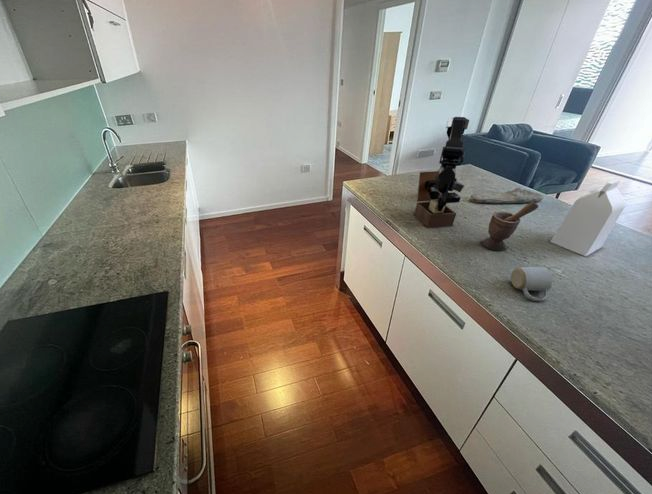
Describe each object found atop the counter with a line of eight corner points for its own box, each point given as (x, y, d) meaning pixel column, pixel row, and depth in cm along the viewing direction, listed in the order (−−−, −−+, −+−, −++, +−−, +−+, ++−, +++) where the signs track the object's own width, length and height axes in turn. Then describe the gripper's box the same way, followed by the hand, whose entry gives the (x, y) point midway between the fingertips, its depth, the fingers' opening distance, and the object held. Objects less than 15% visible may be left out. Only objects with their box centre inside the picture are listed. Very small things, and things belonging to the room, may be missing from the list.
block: (438, 208, 134) (440, 198, 131) (443, 212, 130) (446, 203, 128) (428, 208, 134) (430, 199, 131) (433, 213, 130) (436, 204, 127)
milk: (585, 256, 109) (628, 190, 95) (550, 241, 117) (584, 179, 103) (601, 247, 113) (643, 183, 99) (565, 234, 122) (600, 173, 108)
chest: (452, 225, 130) (456, 213, 126) (427, 227, 129) (431, 215, 126) (437, 212, 141) (440, 200, 137) (414, 214, 140) (417, 202, 136)
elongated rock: (464, 199, 155) (474, 208, 147) (467, 190, 152) (477, 199, 144) (533, 194, 153) (546, 203, 145) (537, 185, 150) (551, 194, 142)
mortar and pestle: (506, 240, 119) (527, 194, 108) (519, 252, 112) (543, 205, 101) (477, 240, 120) (495, 194, 109) (488, 252, 112) (508, 205, 101)
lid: (444, 170, 132) (443, 170, 133) (420, 172, 131) (419, 172, 132) (441, 200, 137) (440, 199, 137) (417, 201, 136) (416, 201, 137)
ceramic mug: (505, 279, 99) (515, 261, 95) (532, 280, 98) (542, 262, 94) (523, 302, 90) (534, 283, 86) (552, 303, 89) (565, 284, 85)
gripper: (478, 182, 115) (466, 217, 124) (451, 166, 131) (442, 199, 140) (451, 184, 115) (441, 219, 123) (427, 168, 130) (419, 200, 139)
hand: (436, 208), depth 131 cm, fingers closed on block, 4 cm apart
